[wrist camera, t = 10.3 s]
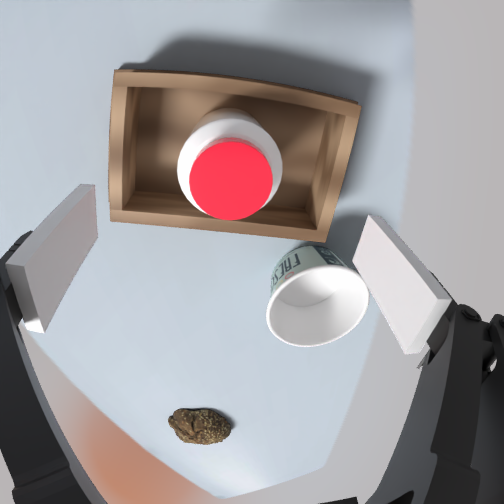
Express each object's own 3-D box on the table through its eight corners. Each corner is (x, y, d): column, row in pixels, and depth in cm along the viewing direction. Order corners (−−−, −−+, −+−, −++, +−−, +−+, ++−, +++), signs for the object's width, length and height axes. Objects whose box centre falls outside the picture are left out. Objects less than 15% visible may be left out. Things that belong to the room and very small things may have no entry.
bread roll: (234, 431, 61) (236, 450, 57) (180, 436, 61) (180, 455, 57) (219, 402, 54) (220, 425, 50) (158, 408, 54) (155, 430, 50)
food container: (326, 318, 44) (338, 352, 39) (246, 302, 41) (250, 339, 36) (367, 249, 39) (388, 280, 33) (282, 223, 36) (293, 253, 30)
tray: (117, 69, 25) (95, 69, 20) (354, 101, 29) (380, 108, 24) (111, 198, 32) (93, 222, 27) (324, 220, 36) (341, 247, 31)
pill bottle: (282, 158, 31) (309, 199, 21) (216, 197, 32) (214, 253, 23) (241, 92, 27) (251, 100, 18) (172, 136, 29) (148, 168, 19)
